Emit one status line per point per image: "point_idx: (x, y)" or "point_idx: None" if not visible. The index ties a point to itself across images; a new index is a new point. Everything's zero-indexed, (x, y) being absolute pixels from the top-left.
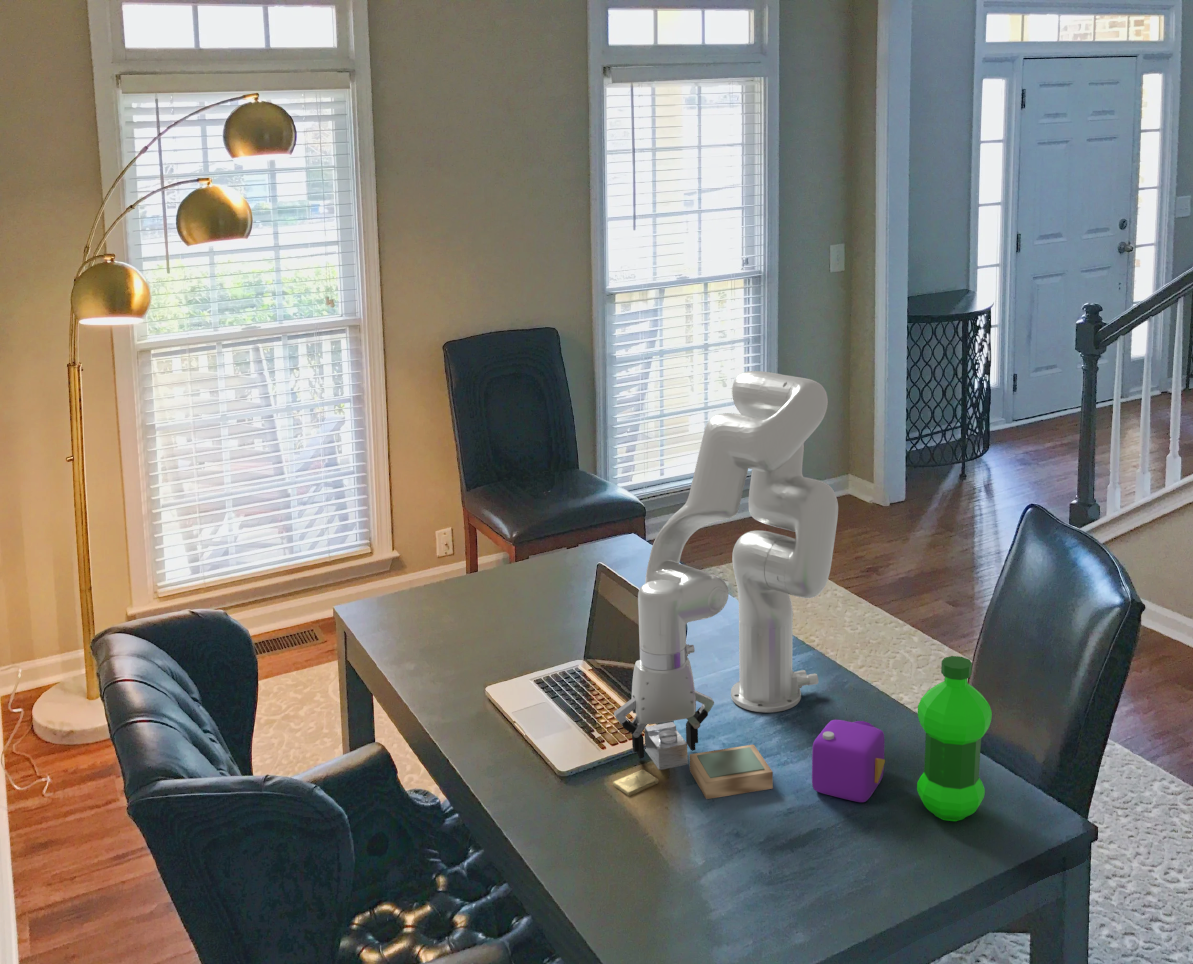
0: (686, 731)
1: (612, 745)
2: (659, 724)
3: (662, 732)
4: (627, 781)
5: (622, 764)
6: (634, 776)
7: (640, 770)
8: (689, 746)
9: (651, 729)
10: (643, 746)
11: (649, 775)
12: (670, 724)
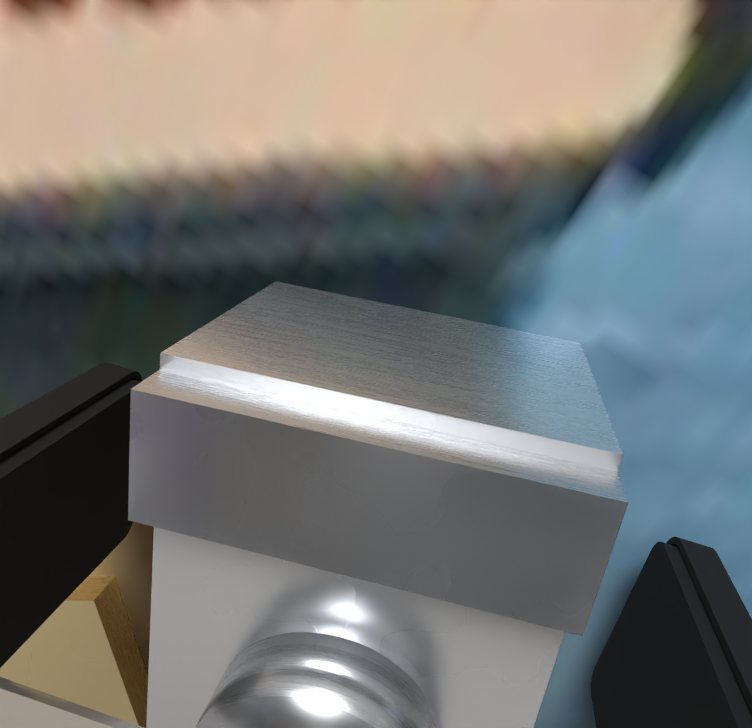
0: (691, 663)
1: (13, 5)
2: (377, 454)
3: (263, 720)
4: None
5: (9, 386)
6: None
7: (72, 602)
8: (614, 644)
9: (196, 506)
10: (50, 609)
11: (110, 689)
12: (538, 549)
